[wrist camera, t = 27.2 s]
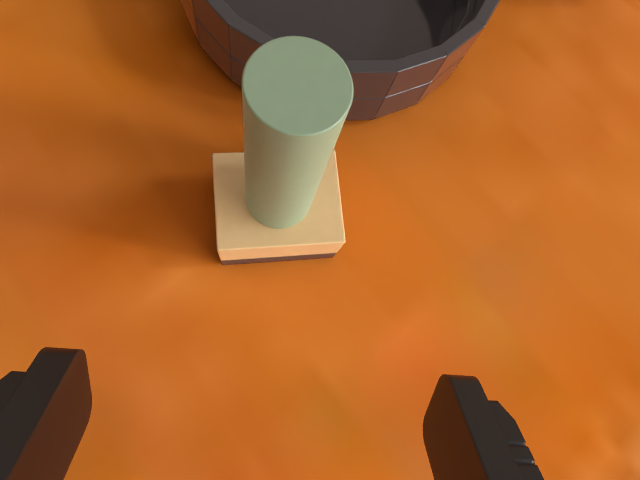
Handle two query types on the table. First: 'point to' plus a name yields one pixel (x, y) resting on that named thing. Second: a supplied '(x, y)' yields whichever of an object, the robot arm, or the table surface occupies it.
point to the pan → (351, 40)
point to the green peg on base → (285, 157)
